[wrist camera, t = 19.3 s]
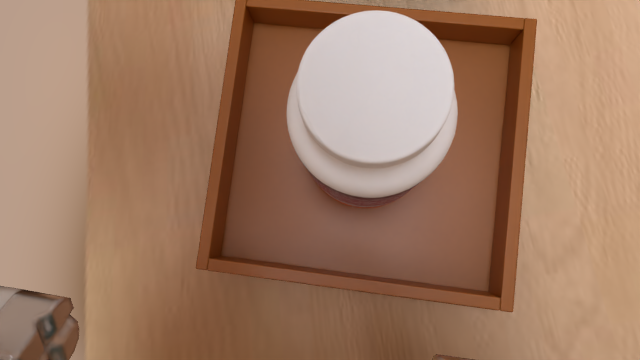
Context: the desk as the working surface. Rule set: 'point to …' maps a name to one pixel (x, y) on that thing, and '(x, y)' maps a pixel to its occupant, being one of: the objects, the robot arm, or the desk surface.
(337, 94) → the pill bottle
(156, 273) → the desk surface
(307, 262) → the amber tray
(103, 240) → the desk surface
